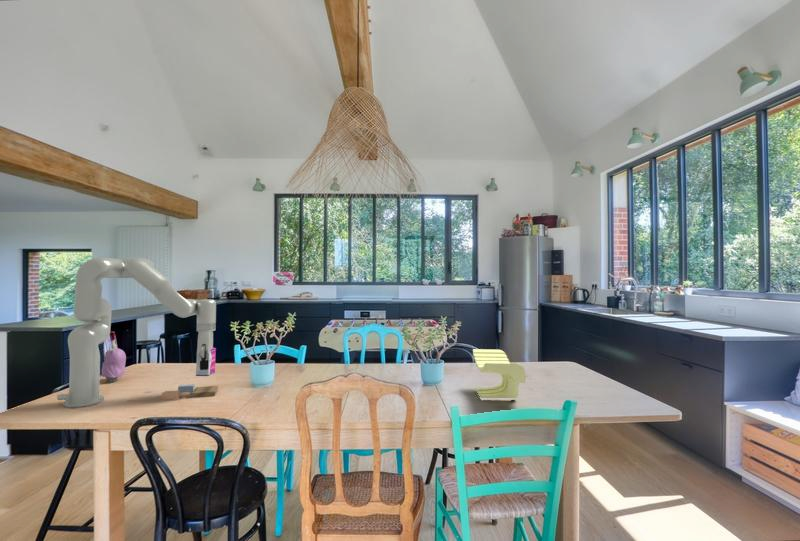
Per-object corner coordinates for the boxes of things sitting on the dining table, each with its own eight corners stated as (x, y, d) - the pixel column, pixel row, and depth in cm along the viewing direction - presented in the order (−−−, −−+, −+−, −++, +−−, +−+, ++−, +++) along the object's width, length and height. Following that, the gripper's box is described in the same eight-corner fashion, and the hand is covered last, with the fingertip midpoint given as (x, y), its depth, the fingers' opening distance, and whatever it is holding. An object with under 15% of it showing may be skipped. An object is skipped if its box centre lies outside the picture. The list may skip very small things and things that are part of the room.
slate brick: (178, 393, 167) (178, 386, 167) (179, 391, 169) (179, 385, 170) (193, 392, 168) (193, 385, 168) (194, 390, 171) (194, 383, 171)
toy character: (103, 379, 189) (104, 339, 189) (128, 376, 193) (128, 337, 194) (95, 385, 178) (96, 343, 178) (122, 382, 182) (123, 341, 182)
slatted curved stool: (525, 408, 150) (525, 363, 150) (485, 407, 150) (485, 363, 151) (506, 386, 180) (506, 349, 180) (472, 386, 180) (472, 349, 181)
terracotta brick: (161, 400, 157) (161, 393, 157) (165, 398, 160) (165, 391, 160) (177, 399, 158) (177, 392, 158) (180, 397, 161) (180, 390, 161)
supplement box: (209, 376, 163) (209, 349, 163) (195, 376, 163) (195, 349, 163) (215, 372, 169) (216, 347, 169) (202, 372, 169) (203, 347, 169)
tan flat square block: (191, 399, 160) (191, 393, 160) (196, 392, 169) (196, 387, 169) (214, 397, 163) (214, 391, 163) (218, 391, 171) (218, 385, 171)
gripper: (200, 325, 174) (200, 363, 173) (192, 330, 157) (191, 372, 157) (218, 324, 176) (218, 362, 176) (212, 329, 159) (211, 371, 159)
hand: (205, 367), depth 166 cm, fingers closed on supplement box, 7 cm apart
